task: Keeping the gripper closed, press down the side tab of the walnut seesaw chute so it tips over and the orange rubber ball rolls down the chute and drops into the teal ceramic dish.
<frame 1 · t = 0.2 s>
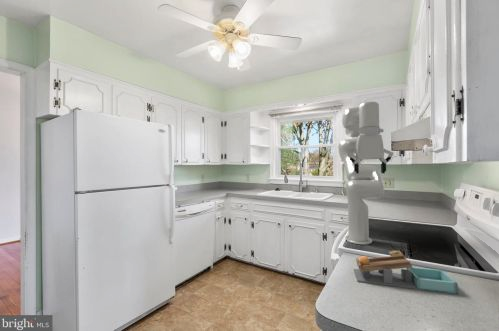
hand: (369, 173, 97), 36 cm above the counter, fingers open, 9 cm apart
ball: (364, 260, 82), point 6 cm above the counter, tilted 42°, touching seesaw lever
seesaw lever: (380, 259, 83), point 5 cm above the counter, hinge at 12.0°, touching ball
lever stand: (384, 278, 80), on the counter
dish: (430, 284, 76), on the counter
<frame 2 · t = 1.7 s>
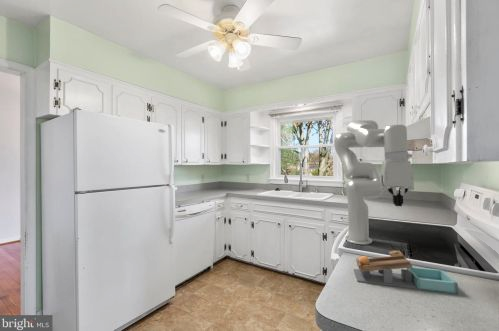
hand: (398, 205, 88), 24 cm above the counter, fingers closed
nothing on the counter moved.
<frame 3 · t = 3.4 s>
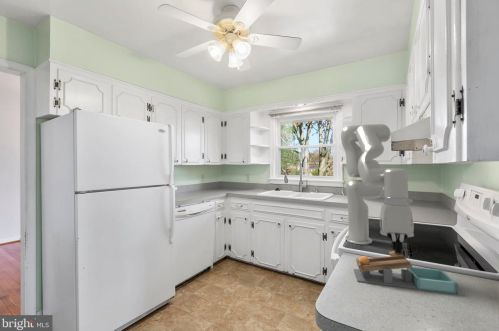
hand: (397, 251, 86), 7 cm above the counter, fingers closed
ball: (364, 260, 82), point 6 cm above the counter, tilted 42°
seesaw lever: (380, 259, 83), point 5 cm above the counter, hinge at 12.0°, touching gripper
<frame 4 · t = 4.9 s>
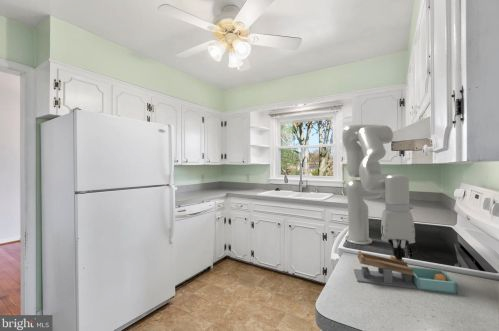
hand: (398, 257, 86), 5 cm above the counter, fingers closed
ball: (440, 279, 75), point 2 cm above the counter, tilted 46°, touching dish
seesaw lever: (381, 259, 83), point 5 cm above the counter, hinge at -8.2°, touching gripper
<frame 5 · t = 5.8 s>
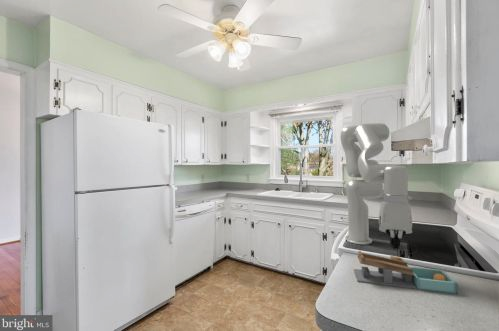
hand: (395, 247, 87), 8 cm above the counter, fingers closed
ball: (439, 278, 75), point 2 cm above the counter, tilted 40°, touching dish
seesaw lever: (381, 259, 83), point 5 cm above the counter, hinge at -8.2°
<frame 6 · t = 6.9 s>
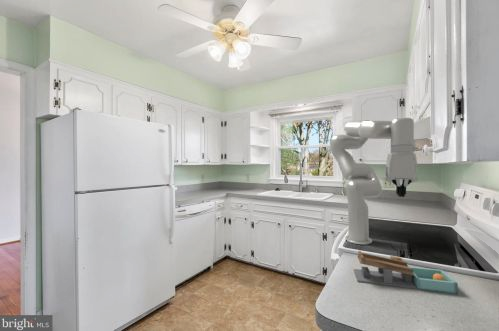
hand: (400, 196, 92), 27 cm above the counter, fingers closed
ball: (438, 278, 75), point 2 cm above the counter, tilted 33°, touching dish
everything else where it was.
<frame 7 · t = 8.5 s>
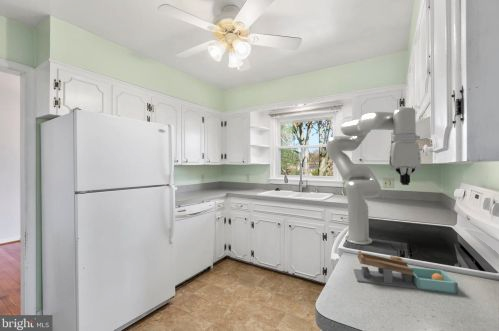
hand: (405, 184, 94), 31 cm above the counter, fingers closed
ball: (437, 278, 75), point 2 cm above the counter, tilted 23°, touching dish
everything else where it was.
at the end: ball inside the target area on the dish (2.0 cm from its centre), point 2.0 cm above the dish's base; seesaw lever at -8° (first picture: +12°) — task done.
